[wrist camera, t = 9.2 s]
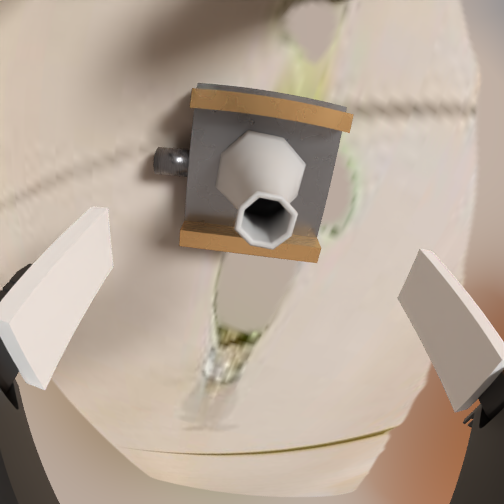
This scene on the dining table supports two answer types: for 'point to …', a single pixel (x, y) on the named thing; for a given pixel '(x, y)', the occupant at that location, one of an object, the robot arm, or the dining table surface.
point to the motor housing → (226, 133)
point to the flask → (261, 187)
